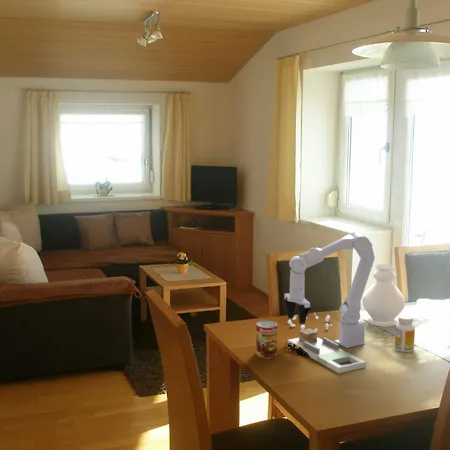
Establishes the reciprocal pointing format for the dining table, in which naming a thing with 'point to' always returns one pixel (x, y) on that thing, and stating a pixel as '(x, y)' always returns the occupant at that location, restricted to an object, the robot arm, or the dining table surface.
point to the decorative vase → (383, 298)
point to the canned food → (266, 338)
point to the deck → (330, 355)
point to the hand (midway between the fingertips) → (296, 320)
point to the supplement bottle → (404, 334)
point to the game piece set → (306, 318)
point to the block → (308, 335)
